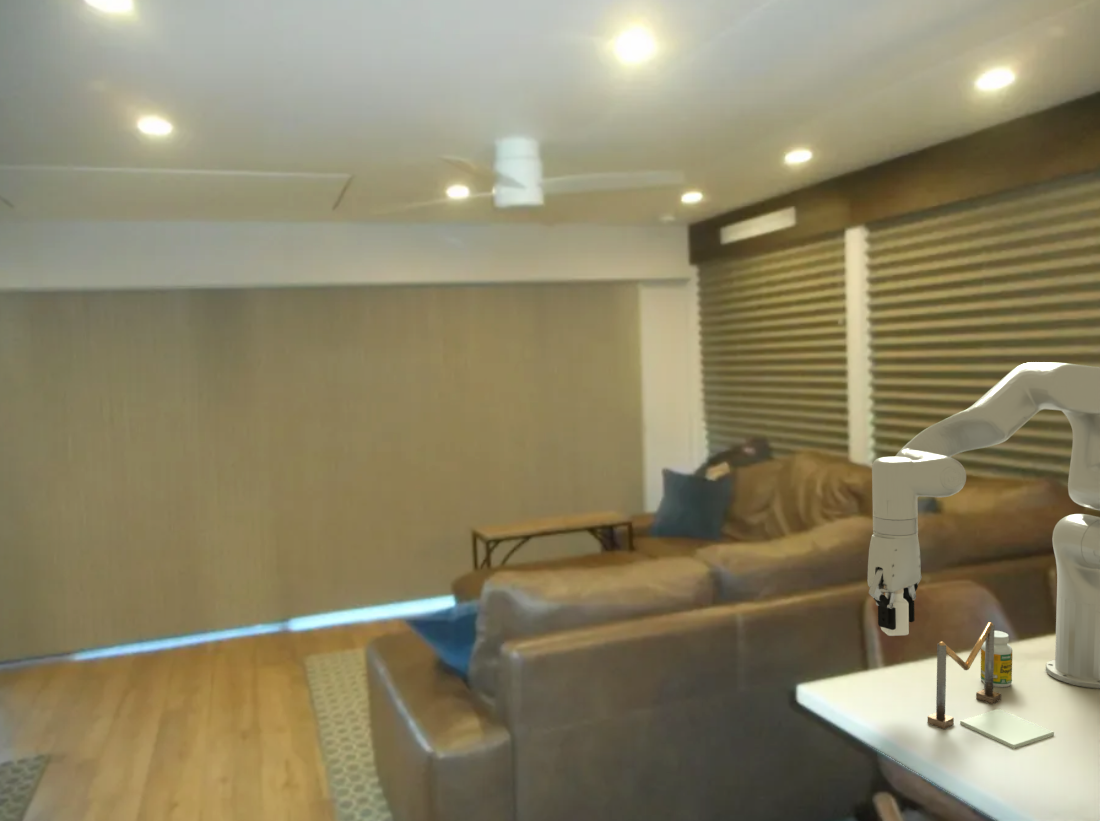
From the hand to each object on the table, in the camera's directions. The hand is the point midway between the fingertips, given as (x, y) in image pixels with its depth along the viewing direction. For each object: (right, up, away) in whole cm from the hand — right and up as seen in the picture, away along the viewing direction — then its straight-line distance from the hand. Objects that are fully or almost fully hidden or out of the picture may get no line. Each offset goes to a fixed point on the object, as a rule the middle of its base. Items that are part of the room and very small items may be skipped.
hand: (896, 622), depth 155 cm
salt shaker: (0, -2, 0) cm, 2 cm away
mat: (+14, -15, -11) cm, 23 cm away
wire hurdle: (+11, -15, -4) cm, 19 cm away
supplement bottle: (+23, -14, +9) cm, 28 cm away
